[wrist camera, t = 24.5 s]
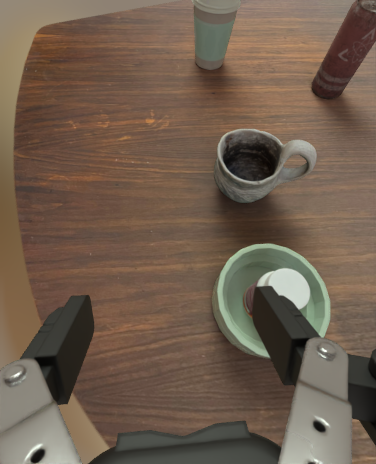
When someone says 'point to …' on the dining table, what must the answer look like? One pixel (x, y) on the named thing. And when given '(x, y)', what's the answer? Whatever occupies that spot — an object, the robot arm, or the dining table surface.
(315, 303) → the bowl
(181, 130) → the dining table surface
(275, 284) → the pill bottle
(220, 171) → the mug
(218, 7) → the coffee cup
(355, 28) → the can
